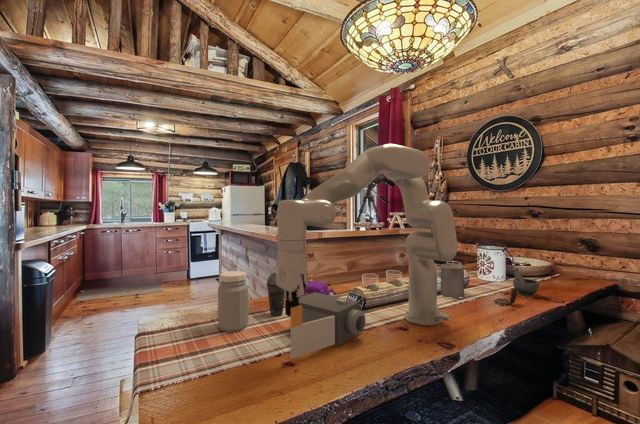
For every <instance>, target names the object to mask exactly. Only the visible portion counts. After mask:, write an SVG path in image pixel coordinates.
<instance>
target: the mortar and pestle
mask: <svg viewBox="0 0 640 424" xmlns="http://www.w3.org/2000/svg"><path fill="white" fill-rule="evenodd" d="M511 272H512V273H513V276H514V278H513V281H512V284H513V288H516V289H517V296H518V295H521V296H525V297H534V298H535V294H536V293H537V292H538V290H539V289H540V281H537V280H535V279H530V278H524V277H523V276H522V274H521V273H520V271H519V268H518V267H514V268H511Z"/></svg>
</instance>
